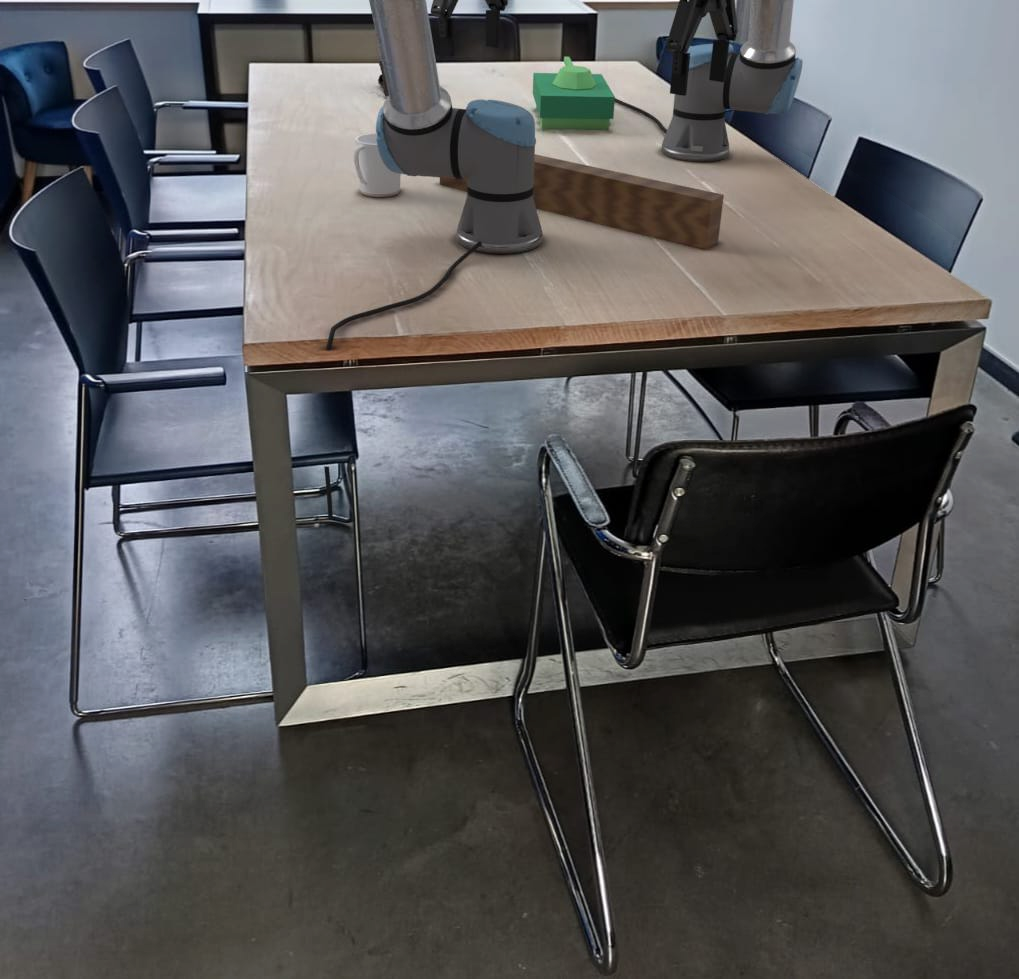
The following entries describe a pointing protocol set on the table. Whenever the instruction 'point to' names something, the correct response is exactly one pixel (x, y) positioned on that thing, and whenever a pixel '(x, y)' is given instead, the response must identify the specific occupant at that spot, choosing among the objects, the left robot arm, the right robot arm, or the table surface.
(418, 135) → the left robot arm
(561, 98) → the green tank
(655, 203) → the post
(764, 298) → the table surface
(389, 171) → the mug
